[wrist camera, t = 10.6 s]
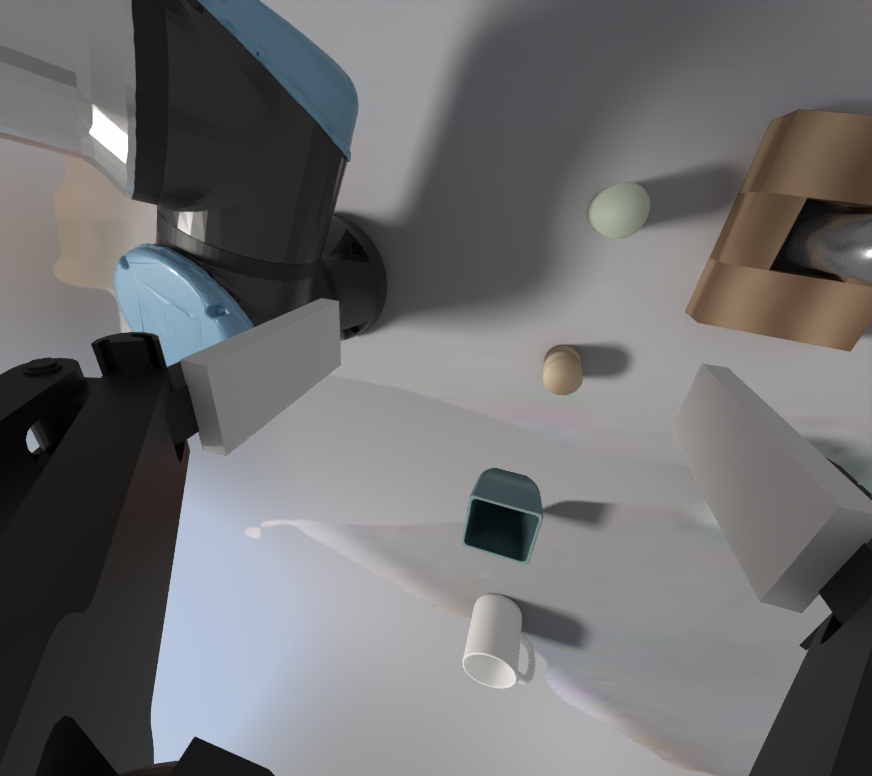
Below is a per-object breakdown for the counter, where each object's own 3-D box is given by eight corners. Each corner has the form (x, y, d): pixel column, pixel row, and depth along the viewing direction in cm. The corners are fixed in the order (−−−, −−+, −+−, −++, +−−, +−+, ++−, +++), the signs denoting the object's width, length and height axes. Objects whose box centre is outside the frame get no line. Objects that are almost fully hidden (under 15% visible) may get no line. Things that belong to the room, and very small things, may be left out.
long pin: (759, 257, 34) (846, 279, 24) (784, 209, 32) (890, 210, 22) (809, 265, 33) (922, 291, 23) (838, 216, 31) (974, 221, 21)
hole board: (685, 311, 38) (697, 322, 34) (771, 120, 30) (799, 109, 27) (821, 337, 35) (850, 351, 32) (953, 136, 28) (1008, 126, 24)
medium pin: (581, 229, 37) (586, 234, 30) (594, 184, 35) (603, 179, 28) (623, 236, 36) (638, 242, 30) (639, 190, 35) (659, 186, 28)
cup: (491, 585, 63) (480, 646, 54) (550, 624, 63) (549, 691, 54) (466, 606, 67) (452, 665, 58) (522, 642, 67) (516, 708, 58)
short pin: (540, 372, 45) (538, 389, 40) (549, 341, 43) (548, 356, 39) (574, 380, 44) (576, 398, 40) (585, 349, 42) (588, 365, 38)
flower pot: (546, 468, 50) (544, 516, 42) (532, 515, 54) (528, 566, 46) (482, 452, 52) (469, 494, 44) (473, 498, 56) (460, 545, 48)
